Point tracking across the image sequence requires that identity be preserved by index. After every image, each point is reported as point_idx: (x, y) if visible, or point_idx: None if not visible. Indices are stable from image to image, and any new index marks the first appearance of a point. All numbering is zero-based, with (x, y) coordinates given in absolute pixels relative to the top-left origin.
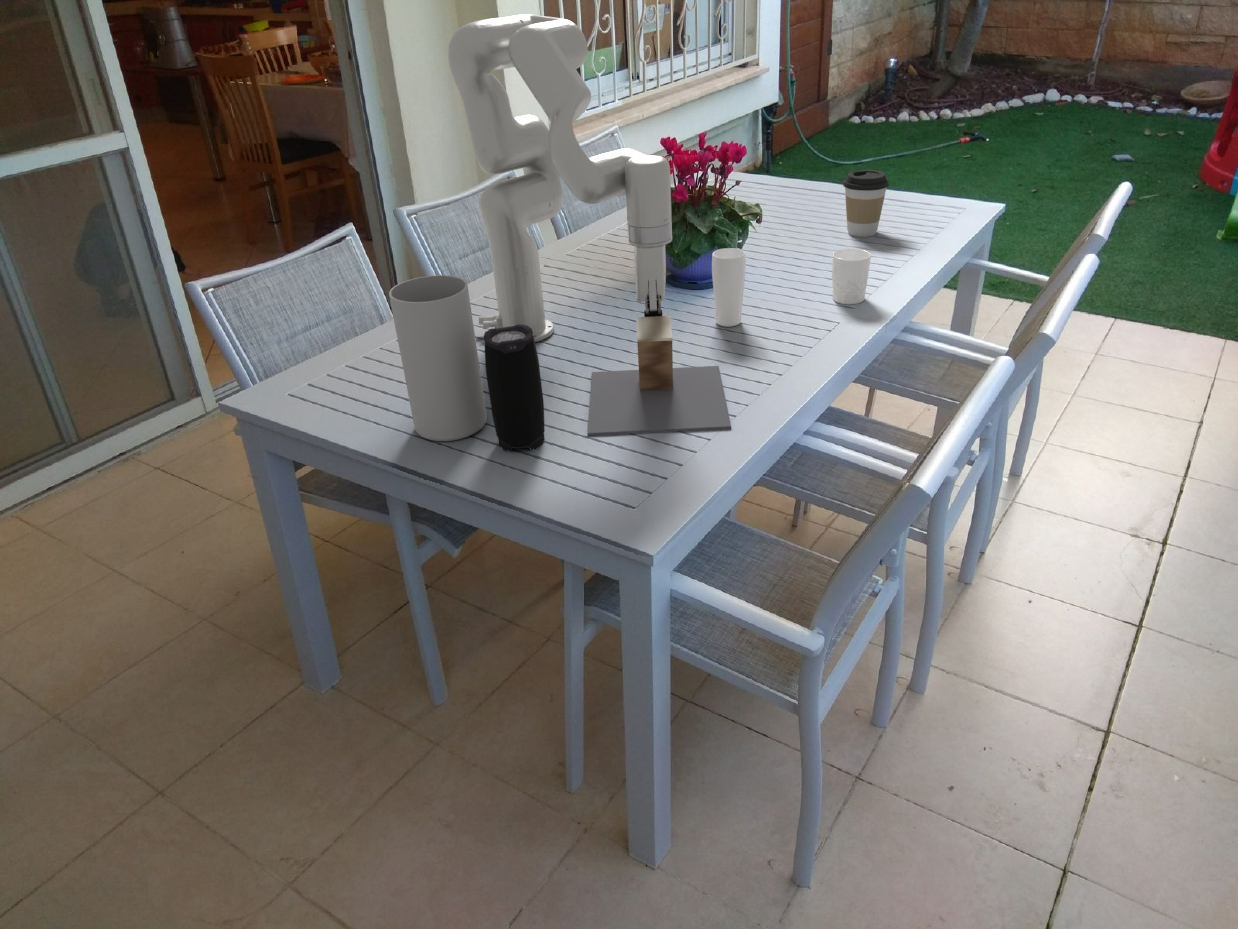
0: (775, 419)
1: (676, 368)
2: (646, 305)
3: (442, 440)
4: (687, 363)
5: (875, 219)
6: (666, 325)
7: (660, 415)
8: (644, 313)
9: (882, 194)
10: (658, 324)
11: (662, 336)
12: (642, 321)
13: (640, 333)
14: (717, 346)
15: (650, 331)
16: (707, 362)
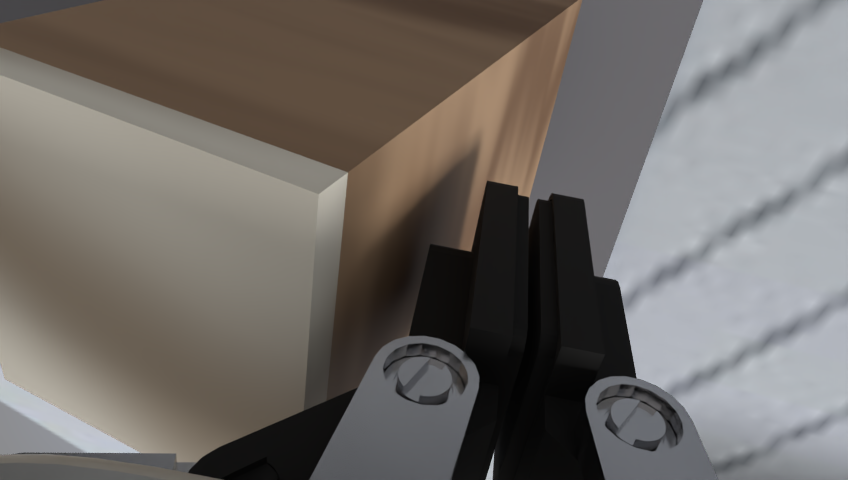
0: (58, 415)
1: (612, 225)
2: (313, 472)
3: None
4: (682, 290)
5: None
6: (154, 426)
7: (27, 2)
8: (477, 331)
9: None
10: (168, 372)
11: (2, 317)
12: (225, 238)
13: (11, 122)
14: (810, 455)
15: (55, 246)
16: (645, 371)
